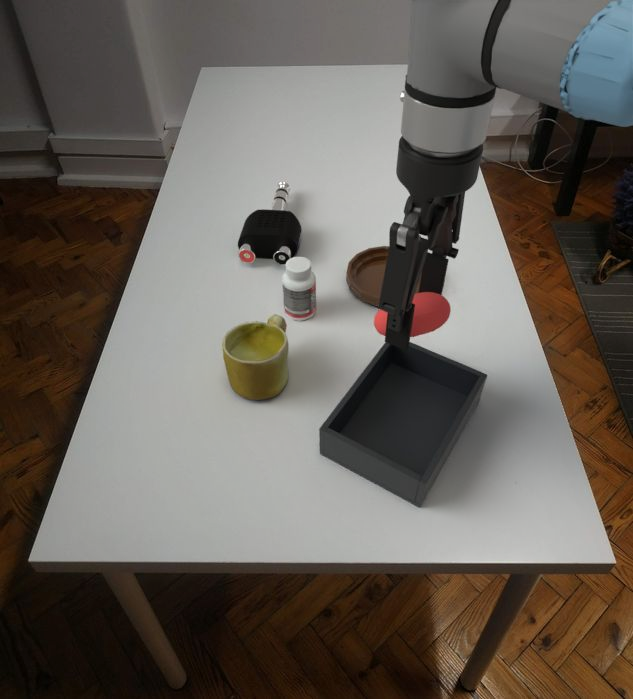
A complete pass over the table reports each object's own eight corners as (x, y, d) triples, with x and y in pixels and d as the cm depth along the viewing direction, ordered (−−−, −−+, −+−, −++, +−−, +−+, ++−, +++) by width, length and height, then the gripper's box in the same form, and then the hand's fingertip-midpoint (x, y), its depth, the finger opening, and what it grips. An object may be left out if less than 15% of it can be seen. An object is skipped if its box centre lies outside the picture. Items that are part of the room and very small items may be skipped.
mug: (266, 417, 76) (252, 352, 71) (216, 399, 82) (200, 339, 77) (321, 375, 84) (311, 315, 79) (272, 362, 90) (260, 305, 85)
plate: (441, 273, 99) (443, 262, 97) (405, 321, 91) (407, 310, 89) (371, 248, 104) (372, 237, 102) (331, 291, 96) (331, 280, 94)
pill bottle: (319, 318, 91) (319, 272, 84) (287, 324, 91) (284, 277, 83) (312, 297, 95) (310, 251, 88) (281, 302, 94) (277, 256, 87)
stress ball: (448, 355, 66) (468, 306, 63) (380, 344, 62) (399, 292, 60) (429, 337, 70) (447, 291, 68) (365, 326, 67) (382, 277, 65)
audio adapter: (232, 243, 97) (257, 170, 114) (236, 267, 101) (260, 193, 118) (294, 246, 96) (310, 172, 113) (295, 270, 100) (311, 195, 117)
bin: (479, 400, 79) (487, 374, 75) (419, 508, 68) (425, 484, 64) (388, 360, 85) (391, 333, 81) (319, 454, 74) (319, 428, 70)
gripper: (449, 87, 57) (422, 263, 74) (346, 180, 45) (341, 365, 62) (520, 103, 54) (475, 282, 71) (431, 206, 42) (402, 392, 59)
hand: (413, 320), depth 66 cm, fingers closed on stress ball, 8 cm apart
